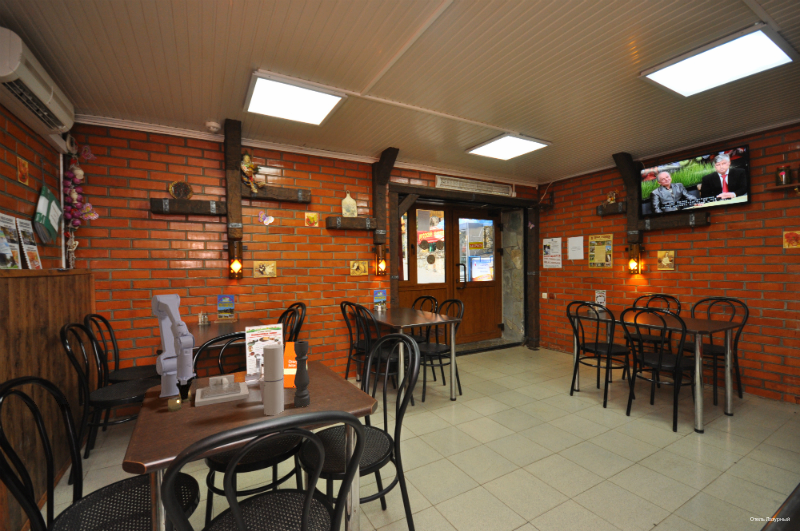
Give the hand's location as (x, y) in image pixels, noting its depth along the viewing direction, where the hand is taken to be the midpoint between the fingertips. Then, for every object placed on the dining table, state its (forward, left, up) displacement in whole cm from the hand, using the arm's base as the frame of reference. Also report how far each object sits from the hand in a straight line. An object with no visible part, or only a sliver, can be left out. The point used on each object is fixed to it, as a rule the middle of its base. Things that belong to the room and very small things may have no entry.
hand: (185, 397), depth 151 cm
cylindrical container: (+31, +31, -2) cm, 44 cm away
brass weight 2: (0, 0, -2) cm, 2 cm away
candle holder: (+29, +42, -2) cm, 51 cm away
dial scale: (+1, +14, -1) cm, 14 cm away
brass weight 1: (+9, -3, -2) cm, 10 cm away
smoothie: (+19, +30, -2) cm, 36 cm away
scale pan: (+1, +14, +1) cm, 14 cm away
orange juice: (+2, +45, -2) cm, 45 cm away
